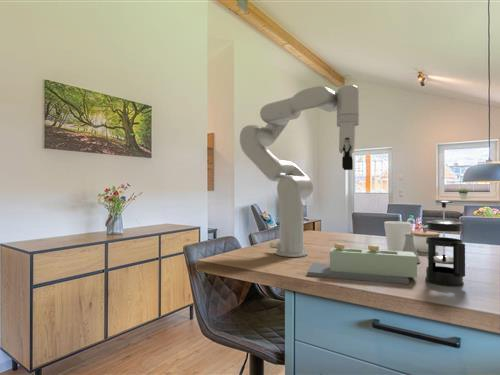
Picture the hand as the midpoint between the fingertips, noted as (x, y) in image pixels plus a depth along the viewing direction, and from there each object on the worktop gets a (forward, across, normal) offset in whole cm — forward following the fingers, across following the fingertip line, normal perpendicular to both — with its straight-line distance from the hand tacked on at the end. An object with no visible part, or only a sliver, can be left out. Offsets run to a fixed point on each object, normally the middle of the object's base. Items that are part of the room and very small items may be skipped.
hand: (347, 169), depth 118 cm
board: (+33, +16, +3) cm, 37 cm away
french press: (+34, +17, +27) cm, 46 cm away
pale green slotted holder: (+32, +16, +7) cm, 37 cm away
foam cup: (+34, -18, +18) cm, 42 cm away
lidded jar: (+34, -32, +30) cm, 55 cm away
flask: (+34, -8, +21) cm, 40 cm away
